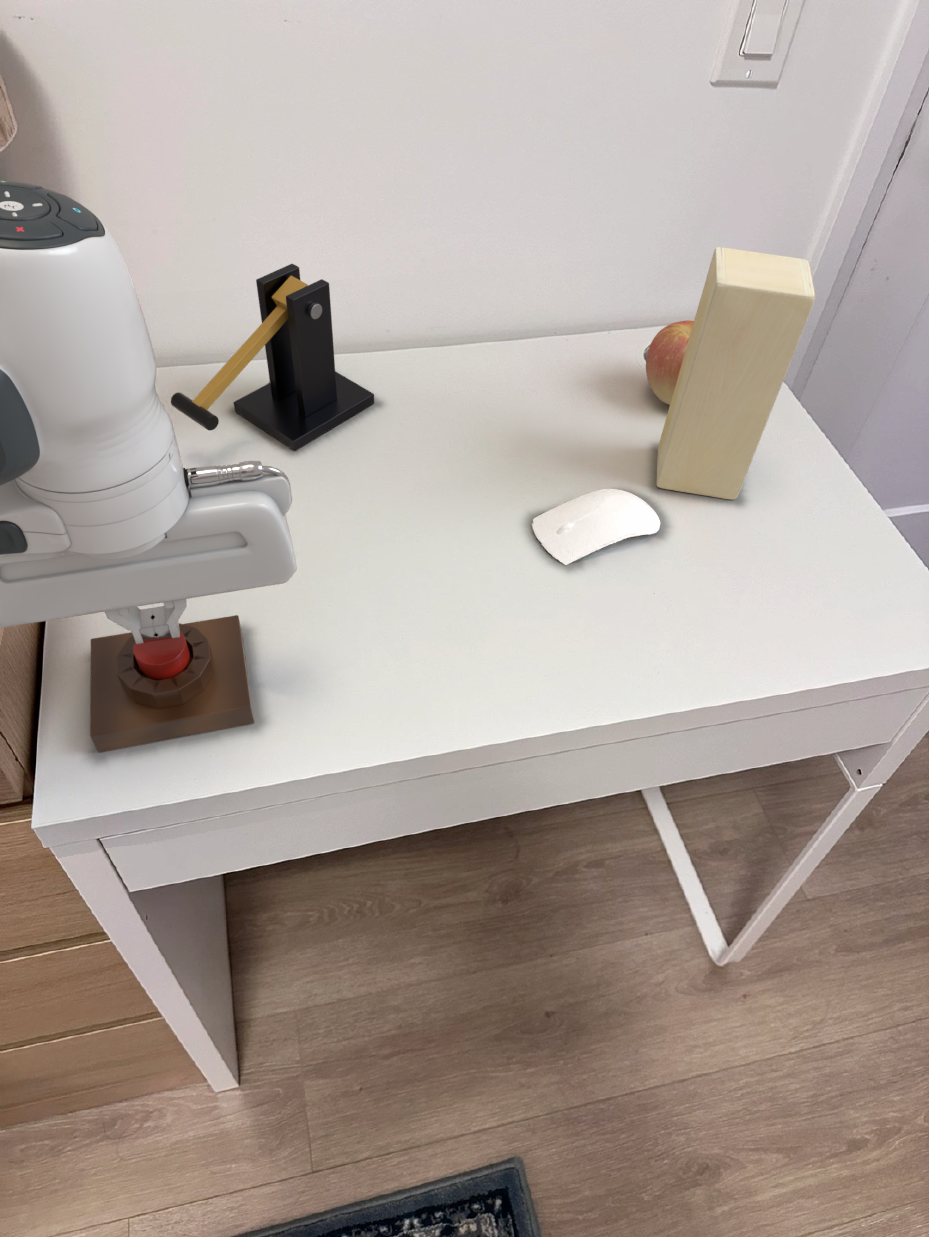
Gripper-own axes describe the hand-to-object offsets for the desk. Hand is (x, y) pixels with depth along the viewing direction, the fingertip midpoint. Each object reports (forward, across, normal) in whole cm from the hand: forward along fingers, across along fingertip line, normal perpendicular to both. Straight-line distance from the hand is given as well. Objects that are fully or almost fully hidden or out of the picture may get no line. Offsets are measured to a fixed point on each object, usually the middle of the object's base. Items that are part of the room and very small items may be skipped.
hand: (158, 633), depth 61 cm
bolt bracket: (+7, -14, -34) cm, 37 cm away
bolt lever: (-1, -10, -30) cm, 32 cm away
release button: (+3, 0, 0) cm, 3 cm away
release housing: (+7, 0, 0) cm, 7 cm away
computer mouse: (+7, -38, -10) cm, 40 cm away
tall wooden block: (+7, -51, -16) cm, 54 cm away
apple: (+7, -54, -28) cm, 61 cm away
